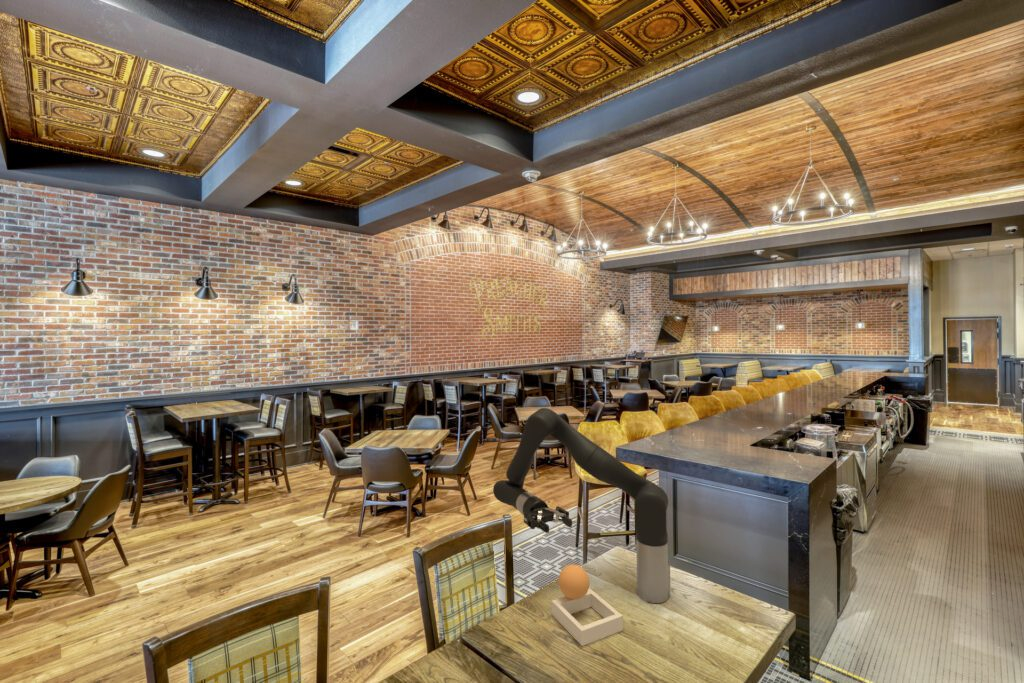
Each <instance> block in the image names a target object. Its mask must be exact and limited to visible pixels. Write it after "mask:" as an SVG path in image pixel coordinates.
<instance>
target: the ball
mask: <svg viewBox="0 0 1024 683" xmlns="http://www.w3.org/2000/svg"><path fill="white" fill-rule="evenodd" d="M557 580H558V581H557V582H558V587H559V589H560V592H561V593H562V595H564V596H566V597H568V598H570V599H580V598H582V597H583V596H584V595H585V594H586V593H587V591H588V589H589V588H590V578H589V575H588V574H587V572H586V570H585V569H584V568H583V567H582V566H580V565H577V564H569V565H566V566H564V567H563V568H562V569H561V571H560V573H559V576H558V579H557Z"/></svg>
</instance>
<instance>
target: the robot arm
mask: <svg viewBox="0 0 1024 683" xmlns="http://www.w3.org/2000/svg"><path fill="white" fill-rule="evenodd" d="M549 436H551V437H553V438H554V439H556V440H557V441H558V442H559V443H561V444H562V445H563V446H564V447H565V448H566V449H567V451H568V452H569V454H570V456H571V458H572V459H573V460H574V462H575V463H576V465H578V467H579V468H581V469H582V470H584V472H586V473H588V475H589V476H591V477H593V478H594V479H596V480H598V481H600V482H602V483H605V484H607V485H611V486H613V487H616V488H619V489H620V490H621V491H623V492H624V493H626V494H627V495H629V497H631V498H632V499H634V501H635V502H634V529H635V533H636V534H635V535H636V536H635V537H636V545H635V546H636V595H637V596H638V597H639V598H640V599H641V600H642V601H645V602H648V603H650V604H661V603H665V602H666V601H667V600H668V598H669V597H670V596H671V566H670V564H669V563H668V562H669V561H668V560H669V557H668V555H669V554H668V553H669V551H668V542H669V541H668V530H667V511H668V506H669V497H668V495H667V493H666V492H665V490H664V489H663V487H661V486H659V485H658V484H655V483H654V482H652V481H650V480H648V479H647V478H645V477H643V476H642V475H640V474H638V473H637V472H635V471H634V470H632V469H630V467H628V466H627V465H625V464H624V463H623V462H622V461H620V460H619V459H618V458H615V456H613V455H612V454H610V453H609V452H608V451H607V450H605V449H604V448H602V447H601V446H600V445H598V444H597V443H595V442H594V441H592V440H590V439H589V438H588V437H587V436H585V435H584V434H582V433H581V432H579V431H578V430H577V429H575V428H574V427H573V426H572V425H570V424H569V423H568V422H567V421H566V420H565V419H564V418H562V417H561V416H560V415H559V414H558V413H556V412H555V411H554V410H553V409H550V408H548V407H541V408H539V409H537V410H536V411H535V412H533V413H531V414H530V415H529V416H528V418H527V419H526V422H525V425H524V428H523V432H522V435H521V438H520V442H519V444H518V447H517V449H516V452H515V454H514V455H513V457H512V460H511V461H510V463H509V465H508V467H507V469H506V474H505V475H506V478H507V479H503V480H502V479H501V480H498V481H496V482H495V484H494V485H493V488H492V489H493V490H492V491H493V495H494V498H495V499H497V501H498V502H500V503H502V504H506V505H508V506H511V507H513V508H514V509H516V511H518V512H519V513H520V514H521V515H522V516H523V523H524V524H525V525H526V526H527V527H529V528H530V529H531V530H535V529H536V528H537V529H539V530H541V531H542V532H544V533H546V534H548V533H549V532H550V525H549V524H548V523H549V522H552V523H563V525H564V526H565V525H566V526H567V527H568V528H572V527H573V520H572V518H570V512H569V511H568V510H566V509H564V508H562V507H561V506H559V505H558V506H556V507H555V509H553V508H550V507H549V506H548V504H547V503H546V501H544V500H543V499H541V498H540V497H538V496H536V495H535V494H533V493H531V492H529V491H528V490H526V489H524V483H525V480H526V479H525V478H526V477H527V475H528V474H529V471H530V469H531V467H532V465H533V460H534V456H535V454H536V451H537V450H538V448H539V447H540V445H541V444H542V443H543V442H544V440H545V439H546V438H548V437H549Z"/></svg>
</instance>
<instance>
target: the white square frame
mask: <svg viewBox="0 0 1024 683" xmlns="http://www.w3.org/2000/svg"><path fill="white" fill-rule="evenodd" d="M589 608H592V609H593V610H594V611H595V612H596V613H598V614H599V615H600V616H601V617H602V618H601V619H599V620H595V621H593V622H590V623H588V624H585V625H582V624H581V623H580V622H579V621H578V620H577V619H576V618H575V617H574V616H573V614H575V613H578V612H582V611H584V610H587V609H589ZM551 615H552V616H553V617H554V618H555V620H556V621H558V623H559V624H560V625H561V626H562V627H563V628H564V629H565V630H566V631H567V632H568V633H569V634H570V635H571V636H572V638H574V639H575V641H576V642H577V643H578V644H579V645H581V647H584V646H586V645H589V644H592V643H594V642H597V641H600V640H601V639H604V638H608V637H610V636H611V635H615V634H618V633H620V632H622V631H624V624H623V623H624V622H623V621H624V618H623V615H622V614H621V613H620V612H619V611H617V609H615V608H614V607H613V606H611V605H610V604H609V603H608V602H607V601H606V600H604V599H603V598H602V597H601V596H599V594H597V593H596V592H595V591H593V590H592V589H591V588H590V587H589V589H588V591H587V593H586V594H585V595H584V596H583V597H582V598H580V599H570V598H568V597H566V596H565V595H564V596H562V597H558V598H556V599H553V600H551Z"/></svg>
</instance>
